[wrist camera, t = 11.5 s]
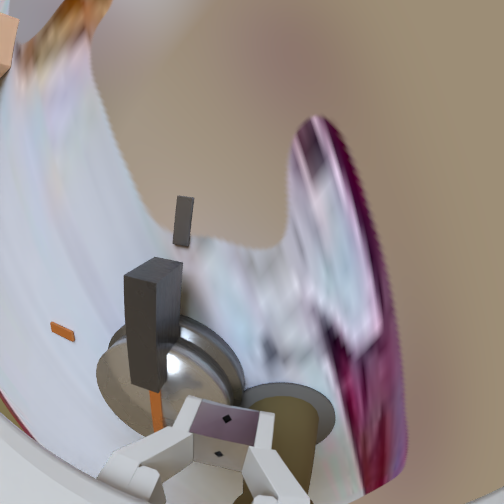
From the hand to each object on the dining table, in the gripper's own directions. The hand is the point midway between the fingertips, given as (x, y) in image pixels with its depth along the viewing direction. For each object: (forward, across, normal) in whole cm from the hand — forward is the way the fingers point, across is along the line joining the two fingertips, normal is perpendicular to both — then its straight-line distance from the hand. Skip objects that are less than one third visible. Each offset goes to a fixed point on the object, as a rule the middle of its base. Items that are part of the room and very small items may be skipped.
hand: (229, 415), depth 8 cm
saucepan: (+8, +5, +5) cm, 11 cm away
